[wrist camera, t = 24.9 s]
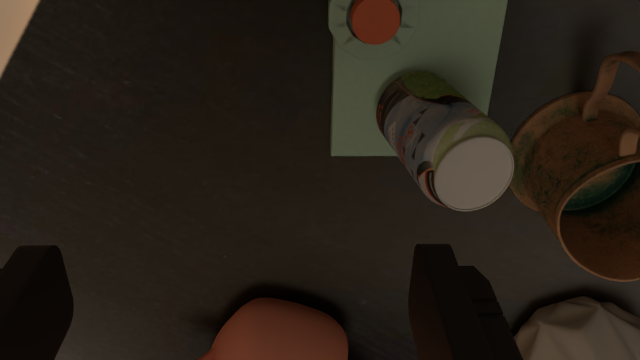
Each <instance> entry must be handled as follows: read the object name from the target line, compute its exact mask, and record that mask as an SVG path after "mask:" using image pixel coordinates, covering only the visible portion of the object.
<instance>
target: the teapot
mask: <svg viewBox="0 0 640 360" xmlns="http://www.w3.org/2000/svg"><path fill="white" fill-rule="evenodd" d="M197 360H348V341H347V336H346V333H345V332H344V330H343V328H342V327H341V326H340V325H339V324H338V322H337V321H336V320H335V319H333V318H332V317H331V316H329V315H328V314H326V313H324V312H321V311H319V310H316V309H314V308H311V307H308V306H305V305H302V304H298V303H294V302H290V301H286V300H281V299H275V298H256V299H253V300H251V301H250V302H248V303H246V304H245V305H243V306H242V307H241V308H240V309H239V310H238V311H236V312H235V313H234V315H233V316H232V317H231V318H230V319H229V320H228V321H227V322H226V323H225V325H224V326H223V327H222V329H221V330H220V332H219V333H218V335H217V337H216V339H215V341H214V343H213V345H212V348H211V350H210V351H209V352H207V353H206V354H204V355H202V356H201V357H199V358H198V359H197Z"/></svg>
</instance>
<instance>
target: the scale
mask: <svg viewBox="0 0 640 360" xmlns="http://www.w3.org/2000/svg"><path fill="white" fill-rule="evenodd" d="M355 1H356V0H328V26H329V30H330V31H331V33H332V35H333V63H332V96H331V130H330V149H331V156H397V154H396V153H395V152H394V150H393V149H392V147H391V146H390V145H389V143H388V142H387V140H386V139H385V137H384V136H383V135H382V133H381V131H380V130H379V127H378V124H377V119H376V110H377V105H378V102H379V99H380V97H381V95H382V93H383V92H384V90H385V89H386V88H387V87H388V85H389V84H390V83H392V82H393V81H394V80H395V79H397V78H398V77H400V76H402V75H404V74H407V73H410V72H414V71H427V72H431V73H434V74H436V75H438V76H440V77H441V78H443V79H444V80H445V81H446V82H447V83H448V84H450V85H451V86H452V87H453V88H454V89H456V90H457V91H458V92H459V93H460V94H462V95H463V96H464V97H465V98H466V99H467V100H469V101H470V102H471V103H472V104H473V105H475V106H476V107H477V108H478V109H479V110H480V111H482V112H483V113H484V114H485V115H486V116H487V114H488V108H489V102H490V97H491V91H492V86H493V80H494V74H495V69H496V63H497V58H498V52H499V46H500V41H501V35H502V30H503V24H504V18H505V13H506V7H507V2H508V0H393V1H394V3H395V4H396V6H397V8H398V10H399V13H400V25H399V28H398V31H397V32H396V34H395V35H394V36H393V37H392V38H391V39H390V40H389V41H387V42H385V43H382V44H378V45H371V44H367V43H365V42H363V41H361V40H360V39H359V38H358V37H357V36H356V34H355V33H354V31H353V27H352V24H351V20H350V12H351V8H352V6H353V4H354V2H355Z"/></svg>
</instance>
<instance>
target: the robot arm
mask: <svg viewBox="0 0 640 360" xmlns="http://www.w3.org/2000/svg"><path fill="white" fill-rule="evenodd" d="M408 307H409V319H410V324H411V329H412V333H413V337H414V341H415V346H416V350H417V354H418V358H419V360H523V357H522V355H521V353H520V351H519V348H518V346H517V344H516V341H515V339H514V337H513V335H512V332H511V330H510V328H509V325H508V323H507V321H506V319H505V316H503V312H502V309H501V307H500V305H499V303H498V302H497V298H496V296H495V293H494V291H493V289H492V287H491V284H490V282H489V281H488V280H487V279H486V278H485V277H484V276H483V275H482V274H481V273H480V272H479V271H478V270H477V269H476V268H475V267H474V266H458V263H457V261H456V258H455V255H454V253H453V250H452V248H451V246H450V245H449V244H417V245H416V247H415V250H414V258H413V266H412V274H411V281H410V289H409V300H408ZM73 308H74V305H73V296H72V292H71V289H70V285H69V281H68V277H67V273H66V269H65V266H64V262H63V258H62V254H61V251H60V249H59V248H58V247H57V246H55V245H51V246H19V247H18V248H17V249H16V250H15V251H14V253H13V254H12V256H11V257H10V259H9V260H8V262H7V263H6V264H5V266H4V267H3V269H0V360H54V359H55V357H56V355H57V353H58V351H59V348H60V346H61V344H62V342H63V340H64V338H65V336H66V334H67V331H68V329H69V327H70V325H71V321H72V317H73Z"/></svg>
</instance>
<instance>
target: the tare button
mask: <svg viewBox="0 0 640 360" xmlns="http://www.w3.org/2000/svg"><path fill="white" fill-rule="evenodd" d="M350 20H351V24H352V27H353V31H354V33H355V34H356V36H357V37H358V38H359V39H360V40H361V41H363V42H365V43H367V44H371V45H378V44H382V43H385V42H387V41H389V40H390V39H391V38H392V37H393V36H394V35H395V34H396V32H397V31H398V28H399V25H400V13H399V10H398V8H397V6H396V4H395V3H394V1H393V0H356V1H355V2H354V4H353V6H352V8H351V12H350Z"/></svg>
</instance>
